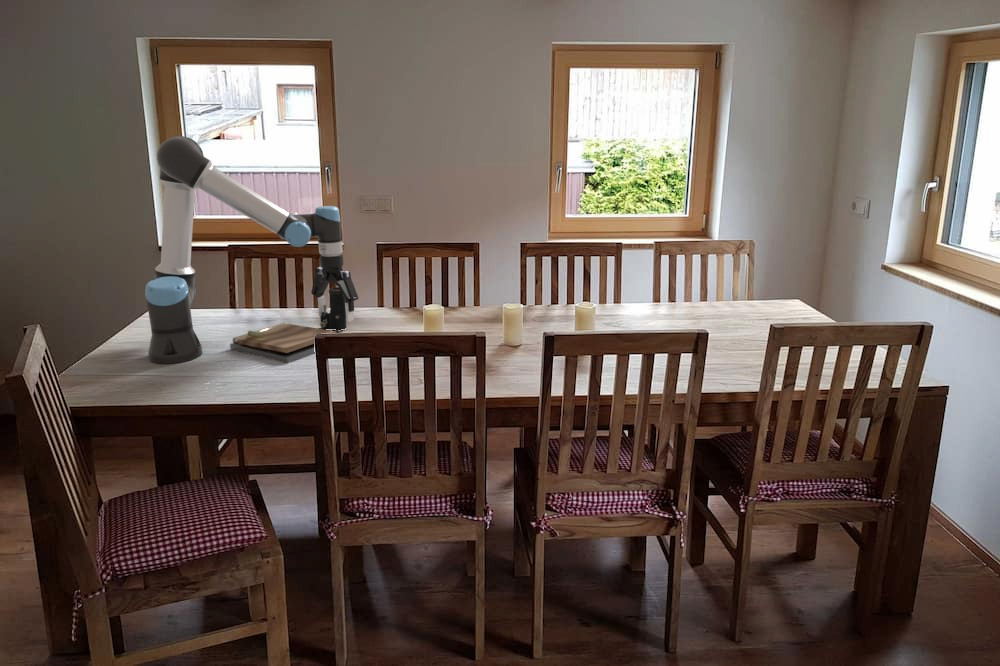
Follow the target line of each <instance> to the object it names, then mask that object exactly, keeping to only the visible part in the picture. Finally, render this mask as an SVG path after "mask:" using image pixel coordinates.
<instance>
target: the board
mask: <svg viewBox="0 0 1000 666" xmlns="http://www.w3.org/2000/svg"><path fill="white" fill-rule="evenodd" d="M285 324H286V325H282V326H279V327H276V328H273V329H270V330H266V331H263V332H255V331H256V330H248V331H247V334H248V335H247V336H246V337H244V338H241V339H238V341H239V344H242V345H247V346H253V347H258V348H263V349H268V350H274V351H279V352H284V353H289V352H292V351H294V350H297V349H300V348H303V347H306V346H309V345H312V344H314V337H315V335H316V334H321V333H336V334H337V331H331V330H324V329H321V328H318V327H311V326H306V325H305V326H304V325H297V324H291V323H285Z"/></svg>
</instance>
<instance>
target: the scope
mask: <svg viewBox="0 0 1000 666" xmlns="http://www.w3.org/2000/svg"><path fill="white" fill-rule="evenodd" d="M328 293H329V294H330V295H329V307H330V309H329V312H328V310H327V308H328V307H327V304H326V305H323V307H324V312H322V316H319V317H320V323H319V326H320V329H324V330H326V329H336V330H341V329H345V328H347V322H346V310H345V302H346V299H345V297H344V296H343V294H342V292H341V290H340V289H339V287H338V286H336V287H330V288H329V289H328ZM347 329H348V328H347Z"/></svg>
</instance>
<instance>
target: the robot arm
mask: <svg viewBox="0 0 1000 666" xmlns="http://www.w3.org/2000/svg"><path fill="white" fill-rule="evenodd" d="M156 161H157V164H158V167H159V181H160V182H161V183H162V184H163V186H164V192H163V193H164V197H163V214H162V230H161V231H162V232H161V234H162V235H161V251H160V253H161V254H160V255H161V256H160V263H159V264H158V265H157V266H155V268H154V269H155V270H154V279H152V280H149V281H148V282H147V283H146V284H145V290H144V293H145V294H144V295H145V299H146V304H147V309H148V310H147V311H148V318H149V323H150V330H151V338H150V343H149V349H148V359H149V361H150V362H152V363H155V364H176V363H177V364H178V363H183V362H188V361H191V360H194V359H197V358H199V357H200V356H201V355H202V354H203V346H202V344H201V342H200V340H199V338H198V335H197V334H196V332H195V330H194V326H193V320H192V318H193V317H192V312H191V311H192V310H191V305H192V302H194V299H195V297H196V291H197V290H196V285H195V281H196V279H195V278H196V270H195V269H194V268H193V267H192V265H191V260H192V245H193V243H192V242H193V227H194V213H195V212H194V211H195V195H196V193H195V192H196V190H197V189H199V190H201V191H203V192H205V193H206V194H208V195H210V196H211V197H213V198H215V199H216V200H218V201H220V202H222V203H224V204H225V205H227V206H228V207H230V208H232V209H233V210H235V211H237V212H239V213H240V214H242V215H244V216H246V217H247V218H248V219H250V220H252V221H253V222H256V223H257V224H258V225H261V226H262V227H264V228H266V229H267V230H269V231H270V232H272V233H274V234H276V235H277V236H279V238H280V239H281V240H286V242H287V243H288V244H289V245H290V246H292V247H296V248H301V247H304V246H306V245H308V243H309V242H310V239H311V238H317V241H318V242H317V243H318V253H319V265H320V266H319V267H315V268H314V278H313V283H312V288H311V295H312V296H313V295H314V296H315V297H316V305H317V307H318V317H320V316H322V312H324V307H323V305H326V306H327V303H326V296H325V292H326V290H327V287H328V286H329V284H330V283H333V284H334V285H335V286H336V287H339V289H340V290H341V292H342V294H343V296H344V297H345V299H346V302H345V310H346V323H349V322H352V321H354V320H355V317H354V311H355V301H358V300H359V296H358V293H357V290H356V288H355V284H354V283H353V282H354V281H353V280H352V277H351V275H352V274H351V271H350V270H345V271H344V270H343V266H344V254H342V253H343V252H344V250H343V238H342V228H341V227H342V224H341V217H340V215H341V214H340V209H339V208H338V206H335V205H325V206H324V205H323V206H322V205H321V206H317V207H316V208H315V211H314V213H307V214H306V213H305V214H304V213H303V214H302V213H301V214H291V213H290V212H288V211H287V210H285V209H283V208H282V207H280V206H278V205H277V204H275V203H273V202H272V201H270V200H268V199H267V198H265V197H264V196H262V195H260V194H259V193H257V192H256V191H254V190H253V189H251V188H249V187H248V186H246V185H244V184H243V183H241V182H239V181H238V180H237V179H234V178H233V177H231V176H229V175H228V174H226V173H224V172H223V171H221V170H219V169H218V168H216V167H215V166H214V165H213V163H212V160H210V159H208V158H207V157H205V156H204V151H203V149H202V147H201V146H200V145H199V144H198V142H197V141H196V140H194V139H193V138H191V137H187V136H183V135H176V136H173V137H171V138H170V137H169V138H168V139H166V140H165V141H163V142H162V143H161V144H160V146H159V147H158V148H157V151H156Z"/></svg>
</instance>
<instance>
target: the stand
mask: <svg viewBox="0 0 1000 666" xmlns="http://www.w3.org/2000/svg"><path fill="white" fill-rule="evenodd" d="M286 324H287V323H285V322H281V323H278V324H274V325H271V326H268V327H265V328H262V329H258V330H254V331H255V332H263V331H266V330H270V329H273V328H276V327H279V326H282V325H286ZM247 335H248V333H245V334H242V335H239V336H235V337H233V338H232V343H230V344H229V346H230V348H229V349H230V350H231V349H232V350H231V351H235V350H237V351H236V352H239V351H241V352H240V353H244V352H245V354H248V353H249V355H252V354H254V356H256V355H257V357H260V356H261V357H260V358H264V357H265V359H268V358H269V359H268V360H272V359H273V361H277V362H281V363H286V364H289V362H290V363H292V362H294V361H295V362H296V361H298V360H300V359H304V358H306V357H308V356H311V355H314V354H316V353H314V344H312V345H309V346H306V347H303V348H300V349H297V350H294V351H292V352H289V353H284V352H279V351H274V350H268V349H263V348H258V347H253V346H247V345H242V344H239V341H238V339H241V338H244V337H246V336H247Z"/></svg>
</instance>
